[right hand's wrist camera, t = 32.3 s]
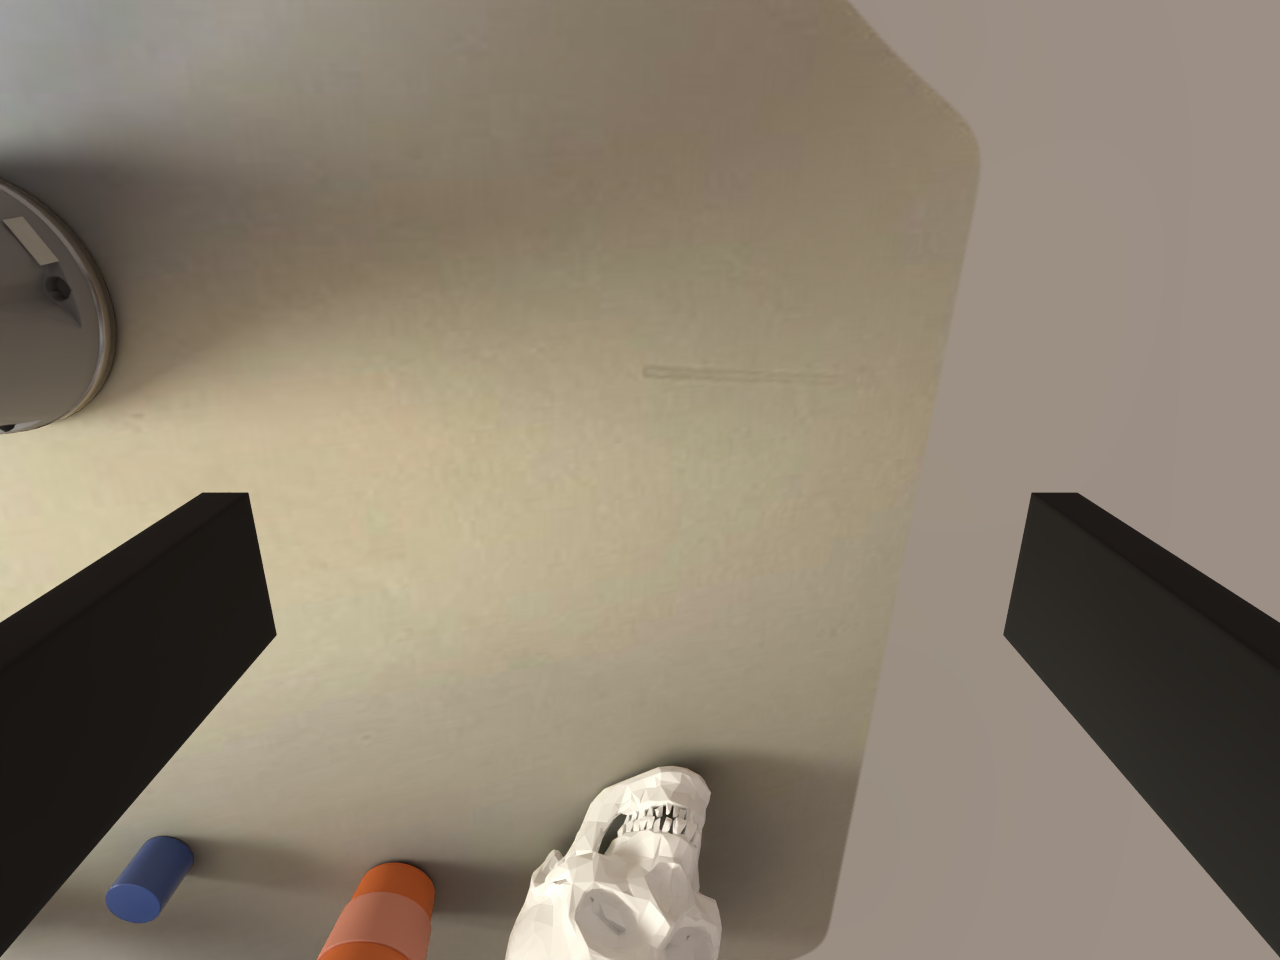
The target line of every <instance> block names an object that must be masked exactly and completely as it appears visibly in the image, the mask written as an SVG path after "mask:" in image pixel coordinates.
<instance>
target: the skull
mask: <svg viewBox="0 0 1280 960" xmlns="http://www.w3.org/2000/svg"><path fill="white" fill-rule="evenodd" d="M710 795H711V792H710V790H709V789H708V787H707V785H706V783H705V781H704V779H703V778H702V777H701V776H700V775H698V774H696V773H695V772H693V771H691V770H689V769H687V768H683V767H677V766H664V767H657V768H655V769H652V770H650V771H647V772H645V773H642V774H639V775H637V776H634V777H632V778H629V779H627V780H624V781H621V782H619V783H616V784H614V785H612V786H609V787H607V788H605V789H604V790H603V791H602V792H601V793H600V794H598V795H597V797H596V798H595V799H594V800H593V802H592V803H591V804H590V807H589V809H588V811H587V814H586V816H585V818H584V821H583V823H582V825H581V828H580V830H579V832H578V833H577V835H576V838H575V841H574V842H573V844H572V846H571V847H570V849H569V851H568V852H567V854H566V856H564V857H563V856H562V854H561V853H560V852H559V851H558V850H555V849H553V850H552V851H551V852H550V853H549V854H548V856H547V858H546V860H545V861H544V862H543V863H542V864H541V865H540V866H539V867H538V868H537V869H536V870H535V871H534V872H533V874H532V877H531V884H530V888H529V891H528V894H527V897H526V900H525V903H524V905H523V907H522V909H521V911H520V913H519V915H518V917H517V919H516V922H515V924H514V927H513V929H512V932H511V934H510V938H509V942H508V947H507V951H506V956H505V960H718V954H719V947H720V940H721V932H722V926H721V920H720V914H719V910H718V906H717V903H716V900H714V899H712V898H709V897H707V896H705V895H702V894H701V893H700V892H699V873H698V860H699V854H700V848H701V836H702V828H703V826H704V823H705V817H706V808H707V805H708V803H709V800H710ZM663 806H666V814H667V815H668V814H669V813H670V811H671V808H672V807H674V811H673V818H674V817H676V818H675V820H674V821H673V834H670V833H668V831H669V829H670V826H671V823H672V819H671V818H668V817H666V820H665V823H664V826H663V829H662V830H660V829H659V827H660V818H659V817H662V812H663ZM656 807H658V808H657V809H655V812H656V816H657V818H659V819H657V820H656V821H655V823H654V819H655V816H653V813H654V812H653V808H656ZM680 808H681V809H680ZM682 809H683V810H682ZM684 810H685V811H684ZM646 812H648V813H647V815H646ZM638 813H639V814H638ZM620 814H625V815H627V817H626V819H625V822H624V824H623V825H622V826H621V828H620V829H619V830H618V837H617V838H616V839H614V840H612V842H611V844H610V846H609V847H608V849H607V850H606V852H605V853H604V855H603V854H600V853H598V851H599V848H600V845H601V841H602V839H603V837H604V835H605V833H606V832H607V830H608V829H609V827H610V826H611V824H612V822H613V821H614V819H615V818H616V817H617V816H618V815H620ZM678 814H679V818H678V817H677V816H678ZM631 815H632V818H631ZM652 816H653V817H652ZM685 816H686V820H684V817H685ZM686 824H687V825H686ZM646 825H647V828H646V829H644V828H645V826H646ZM685 826H686V829H685V831H684V832H683V834H680V833H681V832H682V830H683V829H684V827H685Z"/></svg>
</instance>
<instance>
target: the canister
mask: <svg viewBox="0 0 1280 960" xmlns="http://www.w3.org/2000/svg"><path fill="white" fill-rule="evenodd" d="M192 864H193V854H192V852H191V850H190V849H189V848H188V847H187V846H186V845H185V844H184V843H183V842H181V841H179V840H177V839H174V838H171V837H165V836H160V837H154V838H152V839H150V840H148V841H147V842H146V843H145V844H144V845H143V846H142V847H141V849H140V850H139V851H138V853H137V854H136V855H135V857H134V858H133V859H132V860H131V862H130V863H129V864H128V866H127V867H126V868H125V870H124V871H123V872H122V873H121V875H120V876H119V877H118V879H117V880H116V881H115V882H114V884H113V885H112V886H111V888H110V889H109V890H108V892H107V894H106V897H105V901H106V905H107V907H108V908H109V910H110V911H111V912H112V913H113V914H114V915H115V916H117V917H118V918H120V919H122V920H125V921H128V922H132V923H146V922H149V921H152V920H154V919H155V918H156V917H157V916H158V915H159V914H160V912H161V911H162V909H163V908H164V906H165V905H166V903H167V902H168V900H169V899H170V897H171V896H172V894H173V893H174V891H175V890H176V888H177V887H178V886H179V884H180V883H181V881H182V880H183V878H184V877H185V875H186V874H187V872H188V871H189V869H190V868H191V866H192Z"/></svg>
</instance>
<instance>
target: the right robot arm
mask: <svg viewBox="0 0 1280 960" xmlns="http://www.w3.org/2000/svg"><path fill="white" fill-rule="evenodd" d="M115 345H116V327H115V317H114V312H113V307H112V303H111V299H110V296H109V293H108V290H107V287H106V285H105V282H104V280H103V278H102V275H101V273H100V271H99V269H98V267H97V266H96V264H95V262H94V260H93V259H92V257H91V255H90V254H89V252H88V251H87V249H86V248H85V247H84V245H83V244H82V242H81V241H80V240H79V239H78V237H77V236H76V235H75V234H74V232H73V231H72V230H71V229H70V228H69V227H68V226H67V225H66V224H65V223H64V222H63V221H62V220H61V219H60V218H59V217H58V216H57V215H56V214H55V213H54V212H52V211H51V210H50V209H49V208H47V207H46V206H45V205H44V204H42V203H41V202H40V201H38V200H37V199H35V198H34V197H33V196H31V195H30V194H28V193H26V192H25V191H23V190H21V189H19V188H18V187H16V186H14V185H12V184H10V183H8V182H6V181H3V180H1V179H0V434H8V433H15V432H21V431H28V430H32V429H36V428H40V427H42V426H45V425H48V424H51V423H53V422H56V421H59V420H61V419H64V418H66V417H68V416H70V415H72V414H74V413H75V412H77V411H78V410H80V409H82V408H83V407H84V406H85V405H86V404H87V403H89V402H90V401H91V400H92V399H93V397H94V396H95V395H96V394H97V393H98V391H99V390H100V389H101V387H102V386H103V384H104V382H105V380H106V378H107V376H108V374H109V371H110V368H111V366H112V362H113V358H114V352H115ZM276 635H277V634H276V629H275V624H274V619H273V614H272V609H271V604H270V599H269V594H268V589H267V584H266V579H265V574H264V569H263V564H262V559H261V554H260V549H259V544H258V539H257V534H256V529H255V524H254V519H253V514H252V509H251V504H250V499H249V494H248V493H201V494H200V495H198V496H197V497H195V498H193V499H192V500H190V501H189V502H187V503H186V504H184V505H183V506H181V507H179V508H178V509H176V510H175V511H173V512H172V513H170V514H169V515H167V516H166V517H164V518H162V519H161V520H159V521H158V522H156V523H155V524H153V525H152V526H150V527H148V528H147V529H145V530H144V531H142V532H141V533H139V534H138V535H136V536H134V537H133V538H131V539H130V540H128V541H127V542H125V543H124V544H122V545H120V546H119V547H117V548H116V549H114V550H113V551H111V552H110V553H108V554H106V555H105V556H103V557H102V558H100V559H99V560H97V561H96V562H94V563H92V564H91V565H89V566H88V567H86V568H85V569H83V570H82V571H80V572H78V573H77V574H75V575H74V576H72V577H71V578H69V579H68V580H66V581H64V582H63V583H61V584H60V585H58V586H57V587H55V588H54V589H52V590H50V591H49V592H47V593H46V594H44V595H43V596H41V597H40V598H38V599H36V600H35V601H33V602H32V603H30V604H29V605H27V606H26V607H24V608H22V609H21V610H19V611H18V612H16V613H15V614H13V615H12V616H10V617H8V618H7V619H5V620H4V621H2V622H1V623H0V957H1V956H2V955H3V953H4V952H5V951H6V950H7V949H8V948H9V946H10V945H11V944H12V943H13V942H14V941H15V939H16V938H17V937H18V936H19V935H20V934H21V932H22V931H23V930H24V929H25V928H26V927H27V925H28V924H29V923H30V922H31V921H32V920H33V918H34V917H35V916H36V915H37V914H38V913H39V911H40V910H41V909H42V908H43V907H44V906H45V904H46V903H47V902H48V901H49V900H50V899H51V897H52V896H53V895H54V894H55V893H56V892H57V890H58V889H59V888H60V887H61V886H62V885H63V883H64V882H65V881H66V880H67V879H68V878H69V876H70V875H71V874H72V873H73V872H74V871H75V869H76V868H77V867H78V866H79V865H80V864H81V862H82V861H83V860H84V859H85V858H86V857H87V855H88V854H89V853H90V852H91V851H92V850H93V849H94V847H95V846H96V845H97V844H98V843H99V842H100V840H101V839H102V838H103V837H104V836H105V835H106V833H107V832H108V831H109V830H110V829H111V828H112V826H113V825H114V824H115V823H116V822H117V821H118V819H119V818H120V817H121V816H122V815H123V814H124V812H125V811H126V810H127V809H128V808H129V807H130V805H131V804H132V803H133V802H134V801H135V800H136V798H137V797H138V796H139V795H140V794H141V793H142V791H143V790H144V789H145V788H146V787H147V786H148V784H149V783H150V782H151V781H152V780H153V779H154V777H155V776H156V775H157V774H158V773H159V772H160V770H161V769H162V768H163V767H164V766H165V765H166V763H167V762H168V761H169V760H170V759H171V758H172V756H173V755H174V754H175V753H176V752H177V751H178V749H179V748H180V747H181V746H182V745H183V744H184V742H185V741H186V740H187V739H188V738H189V737H190V735H191V734H192V733H193V732H194V731H195V730H196V728H197V727H198V726H199V725H200V724H201V723H202V721H203V720H204V719H205V718H206V717H207V716H208V714H209V713H210V712H211V711H212V710H213V709H214V707H215V706H216V705H217V704H218V703H219V702H220V700H221V699H222V698H223V697H224V696H225V695H226V693H227V692H228V691H229V690H230V689H231V688H232V686H233V685H234V684H235V683H236V682H237V681H238V679H239V678H240V677H241V676H242V675H243V674H244V672H245V671H246V670H247V669H248V668H249V667H250V665H251V664H252V663H253V662H254V661H255V660H256V658H257V657H258V656H259V655H260V654H261V653H262V651H263V650H264V649H265V648H266V647H267V646H268V644H269V643H270V642H271V641H272V640H273V639H274V637H275V636H276ZM1003 635H1004V636H1005V637H1006V639H1007V640H1008V641H1009V642H1010V643H1011V644H1012V646H1013V647H1014V648H1015V649H1016V650H1017V651H1018V653H1019V654H1020V655H1021V656H1022V657H1023V658H1024V660H1025V661H1026V662H1027V663H1028V664H1029V665H1030V667H1031V668H1032V669H1033V670H1034V671H1035V672H1036V674H1037V675H1038V676H1039V677H1040V678H1041V679H1042V681H1043V682H1044V683H1045V684H1046V685H1047V686H1048V688H1049V689H1050V690H1051V691H1052V692H1053V693H1054V695H1055V696H1056V697H1057V698H1058V699H1059V700H1060V702H1061V703H1062V704H1063V705H1064V706H1065V707H1066V709H1067V710H1068V711H1069V712H1070V713H1071V714H1072V715H1073V717H1074V718H1075V719H1076V720H1077V721H1078V723H1079V724H1080V725H1081V726H1082V727H1083V728H1084V730H1085V731H1086V732H1087V733H1088V734H1089V735H1090V737H1091V738H1092V739H1093V740H1094V741H1095V742H1096V744H1097V745H1098V746H1099V747H1100V748H1101V749H1102V751H1103V752H1104V753H1105V754H1106V755H1107V756H1108V758H1109V759H1110V760H1111V761H1112V762H1113V763H1114V765H1115V766H1116V767H1117V768H1118V769H1119V770H1120V772H1121V773H1122V774H1123V775H1124V776H1125V777H1126V779H1127V780H1128V781H1129V782H1130V783H1131V784H1132V786H1133V787H1134V788H1135V789H1136V790H1137V791H1138V793H1139V794H1140V795H1141V796H1142V797H1143V798H1144V799H1145V801H1146V802H1147V803H1148V804H1149V805H1150V807H1151V808H1152V809H1153V810H1154V811H1155V812H1156V814H1157V815H1158V816H1159V817H1160V818H1161V819H1162V820H1163V822H1164V823H1165V824H1166V825H1167V826H1168V828H1169V829H1170V830H1171V831H1172V832H1173V833H1174V835H1175V836H1176V837H1177V838H1178V839H1179V840H1180V842H1181V843H1182V844H1183V845H1184V846H1185V847H1186V849H1187V850H1188V851H1189V852H1190V853H1191V854H1192V855H1193V857H1194V858H1195V859H1196V860H1197V861H1198V862H1199V864H1200V865H1201V866H1202V867H1203V868H1204V869H1205V871H1206V872H1207V873H1208V874H1209V875H1210V876H1211V878H1212V879H1213V880H1214V881H1215V882H1216V883H1217V885H1218V886H1219V887H1220V888H1221V889H1222V890H1223V892H1224V893H1225V894H1226V895H1227V896H1228V897H1229V899H1230V900H1231V901H1232V902H1233V903H1234V904H1235V906H1236V907H1237V908H1238V909H1239V910H1240V911H1241V913H1242V914H1243V915H1244V916H1245V917H1246V918H1247V920H1248V921H1249V922H1250V923H1251V924H1252V925H1253V927H1254V928H1255V929H1256V930H1257V931H1258V932H1259V934H1260V935H1261V936H1262V937H1263V938H1264V939H1265V941H1266V942H1267V943H1268V944H1269V945H1270V946H1271V948H1272V949H1273V950H1274V951H1275V952H1276V953H1277V955H1278V956H1279V957H1280V623H1279V622H1278V621H1276V620H1275V619H1273V618H1272V617H1270V616H1268V615H1267V614H1265V613H1264V612H1262V611H1261V610H1259V609H1258V608H1256V607H1254V606H1253V605H1251V604H1250V603H1248V602H1247V601H1245V600H1244V599H1242V598H1240V597H1239V596H1237V595H1236V594H1234V593H1233V592H1231V591H1230V590H1228V589H1226V588H1225V587H1223V586H1222V585H1220V584H1219V583H1217V582H1216V581H1214V580H1212V579H1211V578H1209V577H1208V576H1206V575H1205V574H1203V573H1202V572H1200V571H1198V570H1197V569H1195V568H1194V567H1192V566H1191V565H1189V564H1188V563H1186V562H1184V561H1183V560H1181V559H1180V558H1178V557H1177V556H1175V555H1174V554H1172V553H1170V552H1169V551H1167V550H1166V549H1164V548H1163V547H1161V546H1160V545H1158V544H1156V543H1155V542H1153V541H1152V540H1150V539H1149V538H1147V537H1146V536H1144V535H1142V534H1141V533H1139V532H1138V531H1136V530H1135V529H1133V528H1132V527H1130V526H1128V525H1127V524H1125V523H1124V522H1122V521H1121V520H1119V519H1118V518H1116V517H1114V516H1113V515H1111V514H1110V513H1108V512H1107V511H1105V510H1104V509H1102V508H1100V507H1099V506H1097V505H1096V504H1094V503H1093V502H1091V501H1090V500H1088V499H1086V498H1085V497H1083V496H1082V495H1080V494H1079V493H1032V494H1031V499H1030V504H1029V509H1028V514H1027V519H1026V524H1025V529H1024V534H1023V539H1022V544H1021V549H1020V554H1019V559H1018V564H1017V569H1016V574H1015V579H1014V584H1013V589H1012V594H1011V599H1010V604H1009V609H1008V614H1007V619H1006V624H1005V629H1004V634H1003Z"/></svg>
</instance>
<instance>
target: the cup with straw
mask: <svg viewBox="0 0 1280 960" xmlns="http://www.w3.org/2000/svg"><path fill="white" fill-rule="evenodd" d="M434 898H435V889H434V885H433V883H432V881H431V880H430V878H429V877H428V876H427V875H426V874H425V873H424V872H422V871H421V870H420V869H418V868H416V867H414V866H411V865H408V864H404V863H385V864H381V865H378V866H376V867H374V868H372V869H371V870H369V871H368V872H367V873H366V874H365V875H364V877H363V878H362V880H361V882H360V884H359V886H358V888H357V889H356V891H355V893H354V895H353V897H352V899H351V901H350V902H349V903H348V904H347V905H346V906H345V908H344V909H343V911H342V913H341V915H340V917H339V918H338V920H337V922H336V924H335V926H334V928H333V930H332V932H331V934H330V935H329V937H328V939H327V941H326V943H325V945H324V947H323V949H322V951H321V952H320V954H319V956H318V958H317V960H426V956H427V951H428V945H429V940H430V934H431V923H430V921H431V915H432V910H433V904H434Z"/></svg>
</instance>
